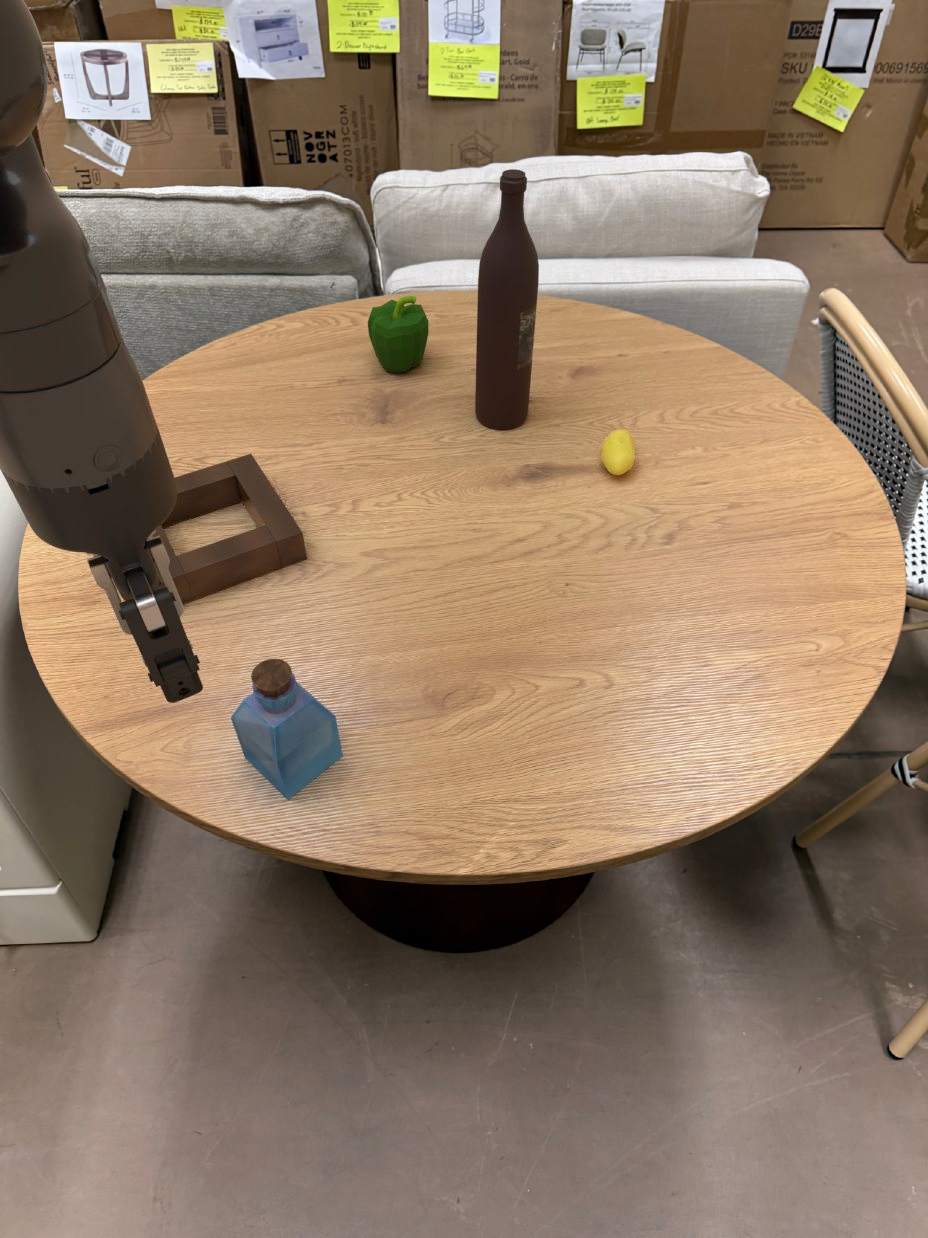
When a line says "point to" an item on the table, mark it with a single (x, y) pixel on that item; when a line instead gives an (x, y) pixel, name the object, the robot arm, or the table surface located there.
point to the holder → (237, 554)
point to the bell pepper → (398, 334)
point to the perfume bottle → (285, 729)
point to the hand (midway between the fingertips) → (165, 646)
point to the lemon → (618, 452)
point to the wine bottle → (506, 312)
